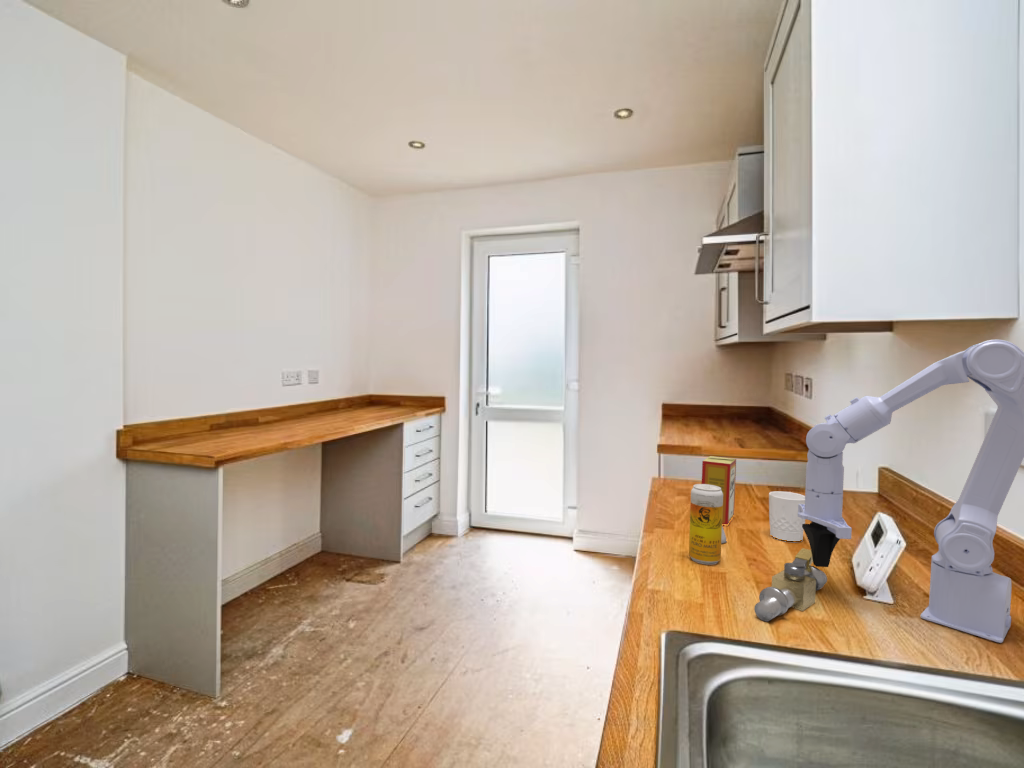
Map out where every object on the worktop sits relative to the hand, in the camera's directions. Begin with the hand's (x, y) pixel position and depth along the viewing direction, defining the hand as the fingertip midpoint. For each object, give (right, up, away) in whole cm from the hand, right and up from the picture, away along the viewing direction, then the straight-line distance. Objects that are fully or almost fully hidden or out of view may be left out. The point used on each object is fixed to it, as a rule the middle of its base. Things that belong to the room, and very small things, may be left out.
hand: (820, 565), depth 92 cm
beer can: (-16, -4, +13) cm, 21 cm away
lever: (-4, 0, -1) cm, 4 cm away
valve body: (-8, -4, -5) cm, 10 cm away
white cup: (+9, -4, +28) cm, 30 cm away
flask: (-10, -3, +26) cm, 28 cm away
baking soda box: (-2, -3, +41) cm, 41 cm away
